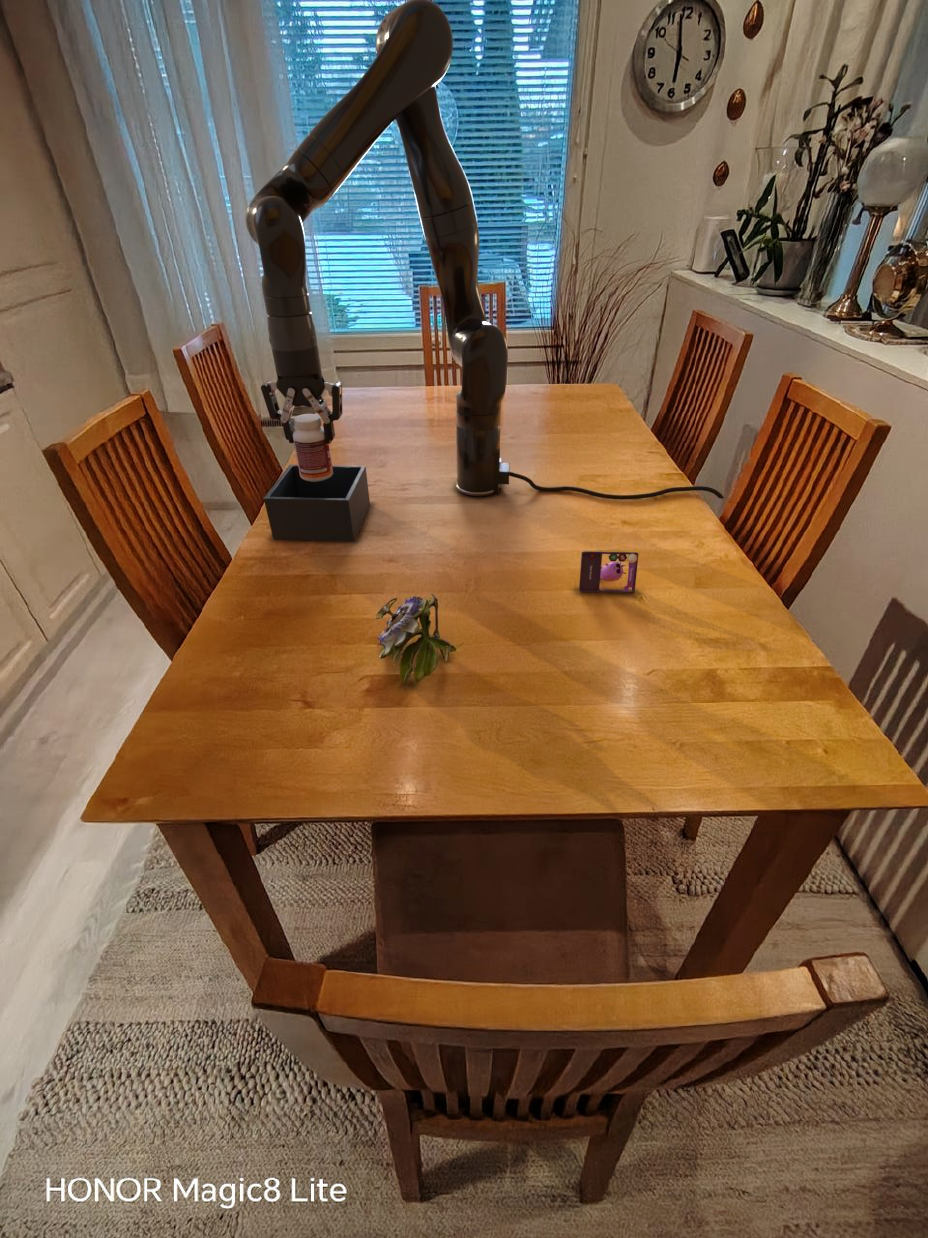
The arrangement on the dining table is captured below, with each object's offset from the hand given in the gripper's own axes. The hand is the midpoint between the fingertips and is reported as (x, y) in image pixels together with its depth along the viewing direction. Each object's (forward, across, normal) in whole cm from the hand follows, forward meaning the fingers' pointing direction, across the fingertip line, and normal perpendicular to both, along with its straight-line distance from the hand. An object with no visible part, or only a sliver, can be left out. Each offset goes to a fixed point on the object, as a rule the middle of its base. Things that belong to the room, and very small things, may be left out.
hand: (311, 441), depth 108 cm
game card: (+16, -53, +20) cm, 59 cm away
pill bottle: (+7, 0, 0) cm, 7 cm away
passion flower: (+16, -24, +40) cm, 49 cm away
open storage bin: (+16, 0, 0) cm, 16 cm away
